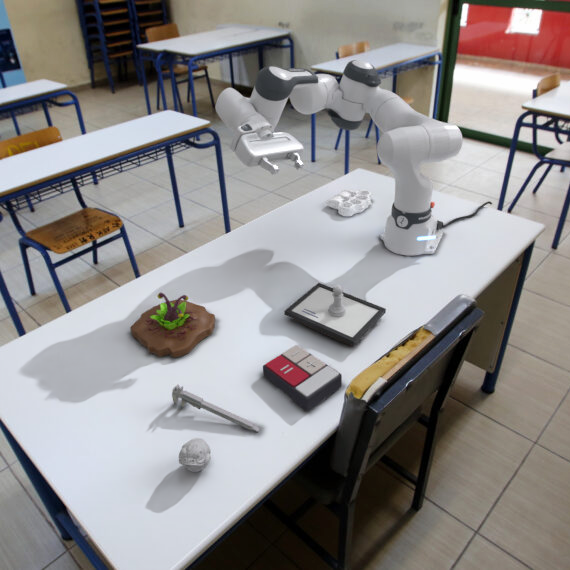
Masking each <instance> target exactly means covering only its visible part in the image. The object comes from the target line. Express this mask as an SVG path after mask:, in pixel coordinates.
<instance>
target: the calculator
mask: <svg viewBox="0 0 570 570" xmlns="http://www.w3.org/2000/svg"><path fill="white" fill-rule="evenodd" d="M262 372H263V373H262V374H263V377H264V378H265V379H267V380H268V381H270V382H271V383H272V384H274V386H276V387H277V388H278V389H280V390H281V391H282V392H284V393H285V394H286V395H288V396H289V397H290V398H291V399H292V400H293V401H294V403H296V405H299V406H300V407H301V408H302V409H303V410H305V411H309V410H311V409H313V408H314V407H316V406H317V405H318V404H320V403H321V402H322V401H324V400H326V398H329V396H330V395H332V394H334V393H335V392H337V391H338V390H339V389H340V388H342V385H343V383H342V382H343V381H342V380H343V379H342V376H343V375H342V373H341V372H339V371H338V370H336V369H334V368H333V367H332V366H330V365H328V364H327V363H325V362H324V361H323V360H321V359H319V358H318V357H316V356H315V355H313V354H311V352H309V351H307V350H305V349H304V348H302V347H301V346H299V345H298V344H295V345H293V346H292V347H290V348H289V349H287V350H285V351H284V352H282V353H281V354H279V355H277V356H276V357H274V358H273V359H271V360H270V361H268V362H266V363H265V364H263V365H262Z"/></svg>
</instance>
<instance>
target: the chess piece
mask: <svg viewBox="0 0 570 570" xmlns="http://www.w3.org/2000/svg"><path fill="white" fill-rule="evenodd" d="M332 288H333V292H334V293H333V294H332V296H333V297H334V302H333V304H331V305H330V306H329V309H328V312H329V314H331V315H332V316H335V317H340V316H343V315H344V314H345V313H346V307H345V306H344V305H343V304H342V303H341V298H342V297H343V292H344V288H343V287H342V286H341V285H334V287H332Z"/></svg>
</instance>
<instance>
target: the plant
mask: <svg viewBox="0 0 570 570" xmlns="http://www.w3.org/2000/svg"><path fill="white" fill-rule="evenodd" d="M157 298H158V299H164V300H165V302H161V303H159V304H157V305H154V306H153V307H150V309H148V310H146V311H144V312H142V313H141V314H140V317H139V318H138V319H137V320H136V321H135V322H134V323H133V324H132V325H130V327H129V329H130V333H131V335H132V337H133V338H134V339H136V340H137V341H138V342H139V343H140V345H141V346H143V347H145V348H147V350H148V354H156V356H157V357H159V358H161V357H164V356H168V355H170V356H171V357H172V358H179V357H183V356H186V355H188V354H189V353H190V352H192V351H193V349H194V348H195V347H196V346H198V344H199V343H200V342H202V341H203V340H204V339H206V338H208V337H209V336H211V335H213V331H214V330H215V327H216V324H215V323H216V315H215V314H214V313H210V312H209V311H208V310H207V309H206V307H205V306H204V305H200V304H197V303H193V302H191V301H189V296H188V295H186V294H183V295H181V296H179V297H178V298H177V299H173V300H169V298H168V297H167V296H166V294H165V293H163V292H158V294H157Z"/></svg>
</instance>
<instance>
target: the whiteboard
mask: <svg viewBox="0 0 570 570" xmlns="http://www.w3.org/2000/svg"><path fill="white" fill-rule="evenodd" d="M333 288H334V287H331V286H328V285H326V284H323V283H322V282H317V283H316V284H315V285H314V286H312V287H311V288H310V289H309V290H308V291H307V292H305V293H304V294H302V295H301V296H300V297H299V298H298V299H297V300H295V301H294V302H293V303H292V304H291V305H289V306H288V307H287V308H286V309H285V310H284V312H283V314H284V316H286V317H288V318H290V319H292V321H295V322H297V323H299V324H301V325H303V326H305V327H308V328H310V329H312V330H314V331H317V332H319V333H322V334H323V335H325V336H328V337H330V338H332V339H334V340H337V341H339V342H341V343H342V344H345V345H348V346H350V347H352V346H353V347H355V346H356V345H357V343H358V342H360V340H361V339H362V338H363V337H364V336H365V335H366V334H368V332H369V331H370V330H371V329H372V328H373V327H374V326H375V325H376V324H377V323H378V322H379V321H380V319H381V318H382V317H383V316H384V315H385V314H386V311H387V310H386V309H387V308H384V307H382V306H380V305H378V304H375V303H372V302H370V301H367V300H364V299H362V298H360V297H357V296H354V295H351V294H350V293H347V292H344V291H343V297H342V298H341V303H342V304H343V305H344V306H345V307H346V313H345V314H344V315H343V316H340V317H335V316H332V315H331V314H329V312H328V309H329V306H330V305H331V304H333V302H334V297H333V296H332V294H333V293H334V292H333Z"/></svg>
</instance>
